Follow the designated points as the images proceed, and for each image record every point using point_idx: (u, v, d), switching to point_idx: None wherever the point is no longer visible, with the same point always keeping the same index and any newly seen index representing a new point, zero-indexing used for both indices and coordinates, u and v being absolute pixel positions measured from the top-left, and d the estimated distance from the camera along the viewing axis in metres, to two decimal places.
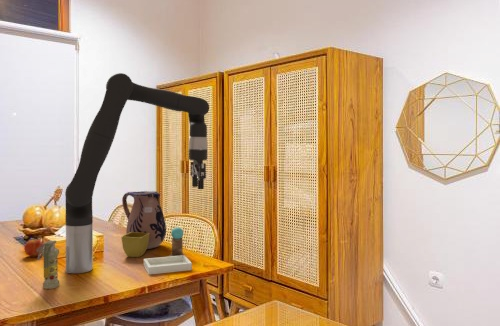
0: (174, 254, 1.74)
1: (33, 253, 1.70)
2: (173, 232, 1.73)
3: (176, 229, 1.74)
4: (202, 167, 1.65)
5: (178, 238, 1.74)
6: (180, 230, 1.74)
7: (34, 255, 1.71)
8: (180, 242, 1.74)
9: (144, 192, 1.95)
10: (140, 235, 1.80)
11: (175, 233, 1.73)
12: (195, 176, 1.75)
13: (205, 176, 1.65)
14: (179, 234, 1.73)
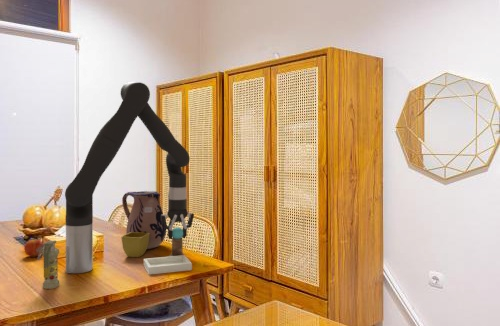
0: (174, 254, 1.74)
1: (33, 253, 1.70)
2: (173, 232, 1.73)
3: (176, 229, 1.74)
4: None
5: (178, 238, 1.74)
6: (180, 230, 1.74)
7: (34, 255, 1.71)
8: (180, 242, 1.74)
9: (144, 192, 1.95)
10: (140, 235, 1.80)
11: (175, 233, 1.73)
12: None
13: None
14: (179, 234, 1.73)
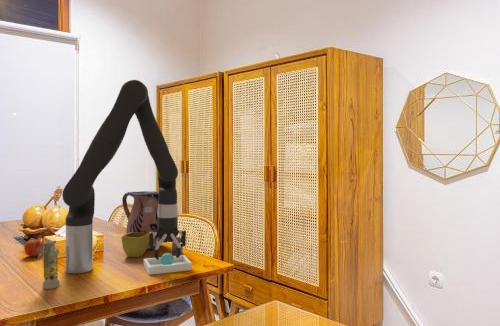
0: (174, 254, 1.74)
1: (33, 253, 1.70)
2: (162, 259, 1.58)
3: (166, 255, 1.59)
4: None
5: None
6: (170, 256, 1.59)
7: (34, 255, 1.71)
8: (180, 242, 1.74)
9: (144, 192, 1.95)
10: (140, 235, 1.80)
11: (164, 260, 1.58)
12: None
13: None
14: (169, 261, 1.58)
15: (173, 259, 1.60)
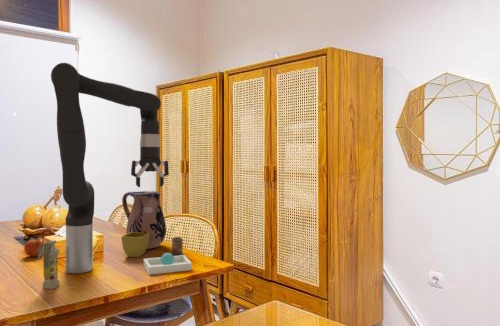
0: (174, 254, 1.74)
1: (33, 253, 1.70)
2: (163, 258, 1.58)
3: (166, 255, 1.59)
4: None
5: None
6: (170, 256, 1.59)
7: (34, 255, 1.71)
8: (180, 242, 1.74)
9: (144, 192, 1.95)
10: (140, 235, 1.80)
11: (164, 259, 1.58)
12: None
13: None
14: (170, 261, 1.58)
15: (173, 259, 1.60)
